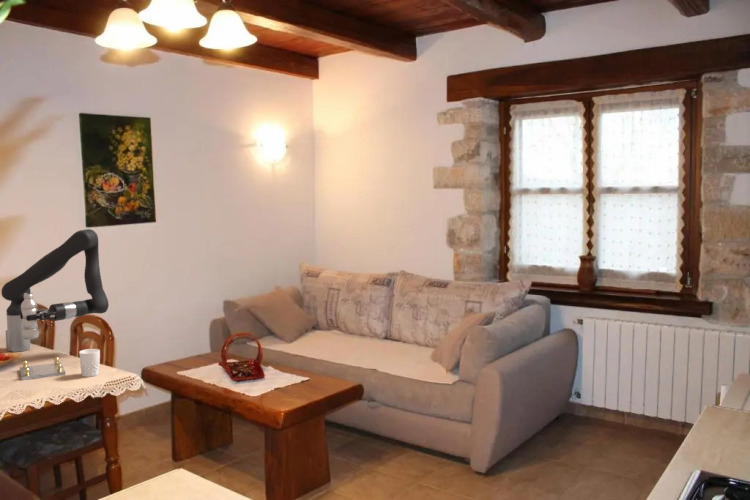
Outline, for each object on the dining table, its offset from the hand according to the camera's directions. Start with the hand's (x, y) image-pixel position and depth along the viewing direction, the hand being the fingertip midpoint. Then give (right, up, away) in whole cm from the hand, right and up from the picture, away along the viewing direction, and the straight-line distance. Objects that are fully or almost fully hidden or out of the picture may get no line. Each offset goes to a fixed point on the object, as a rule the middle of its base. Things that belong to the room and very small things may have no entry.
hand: (23, 317), depth 281 cm
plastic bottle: (+1, -10, +3) cm, 10 cm away
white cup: (+32, -23, -8) cm, 40 cm away
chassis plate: (+11, -22, -6) cm, 26 cm away
